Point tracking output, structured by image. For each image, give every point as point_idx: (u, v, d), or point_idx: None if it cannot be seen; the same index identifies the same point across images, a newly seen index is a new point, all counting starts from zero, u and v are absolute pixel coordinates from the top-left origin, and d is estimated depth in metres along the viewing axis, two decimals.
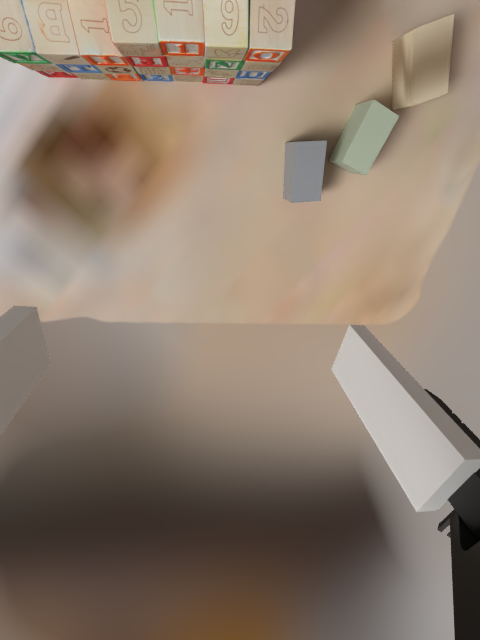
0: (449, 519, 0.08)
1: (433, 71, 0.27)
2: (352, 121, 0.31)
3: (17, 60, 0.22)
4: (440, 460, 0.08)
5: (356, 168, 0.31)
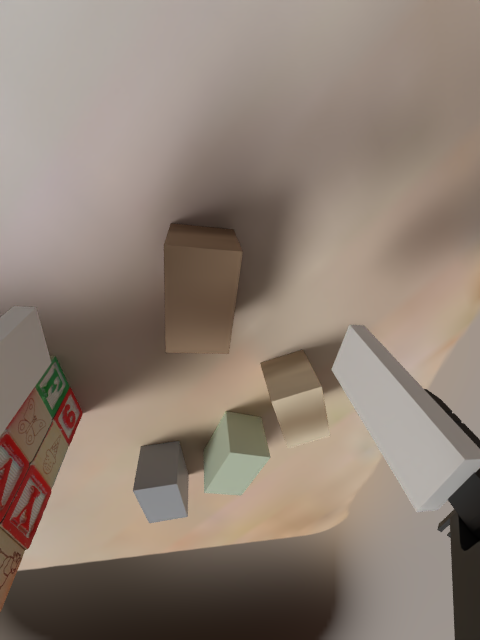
0: (449, 519, 0.08)
1: (305, 425, 0.20)
2: (219, 437, 0.24)
3: None
4: (440, 460, 0.08)
5: (226, 493, 0.24)
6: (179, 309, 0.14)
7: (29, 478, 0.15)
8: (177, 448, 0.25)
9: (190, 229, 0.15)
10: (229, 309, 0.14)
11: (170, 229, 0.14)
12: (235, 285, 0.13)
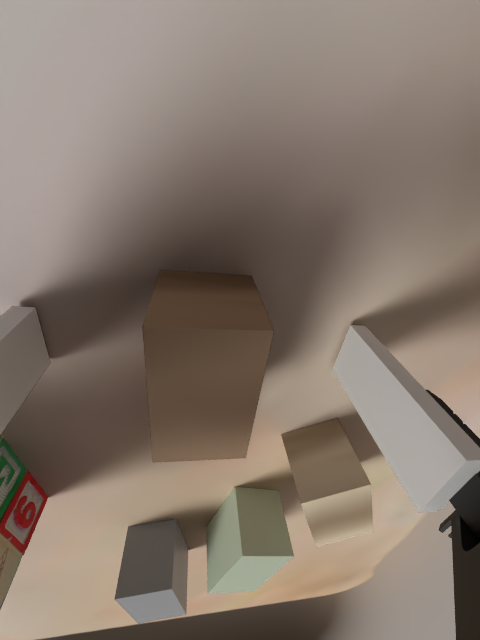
0: (450, 520, 0.08)
1: (342, 523, 0.15)
2: (227, 520, 0.19)
3: None
4: (442, 461, 0.08)
5: (235, 591, 0.19)
6: (171, 411, 0.09)
7: None
8: (173, 530, 0.20)
9: (189, 281, 0.10)
10: (248, 406, 0.09)
11: (158, 284, 0.09)
12: (259, 376, 0.09)
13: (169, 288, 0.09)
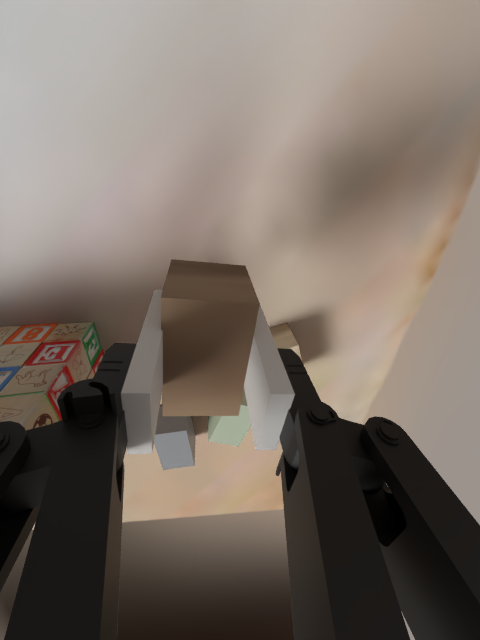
0: (280, 464, 0.09)
1: None
2: None
3: None
4: (264, 399, 0.09)
5: (226, 443, 0.30)
6: (179, 369, 0.11)
7: None
8: None
9: (194, 269, 0.12)
10: (241, 368, 0.12)
11: (170, 270, 0.12)
12: (249, 342, 0.11)
13: (179, 273, 0.12)
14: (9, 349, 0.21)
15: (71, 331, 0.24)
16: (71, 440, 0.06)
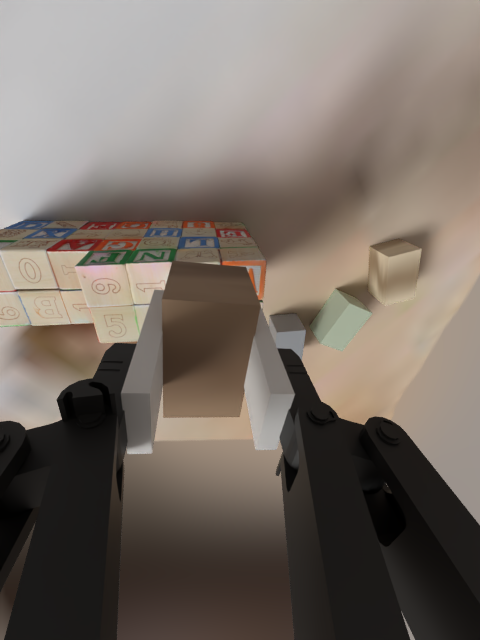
0: (280, 463, 0.09)
1: (402, 284, 0.31)
2: (331, 305, 0.34)
3: None
4: (264, 399, 0.09)
5: (333, 347, 0.34)
6: (180, 371, 0.11)
7: None
8: (296, 316, 0.35)
9: (195, 270, 0.12)
10: (242, 369, 0.12)
11: (171, 271, 0.12)
12: (250, 343, 0.11)
13: (180, 274, 0.12)
14: (193, 229, 0.25)
15: (231, 225, 0.27)
16: (71, 440, 0.06)
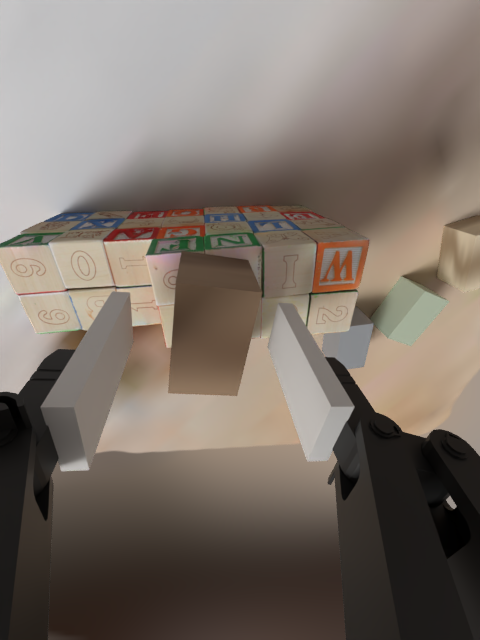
0: (334, 472, 0.09)
1: None
2: (397, 295, 0.30)
3: None
4: (319, 411, 0.09)
5: (401, 341, 0.31)
6: (186, 350, 0.12)
7: None
8: (357, 309, 0.31)
9: (203, 260, 0.13)
10: (242, 350, 0.13)
11: (181, 260, 0.13)
12: (250, 327, 0.12)
13: (189, 263, 0.13)
14: (255, 213, 0.22)
15: (292, 208, 0.24)
16: None
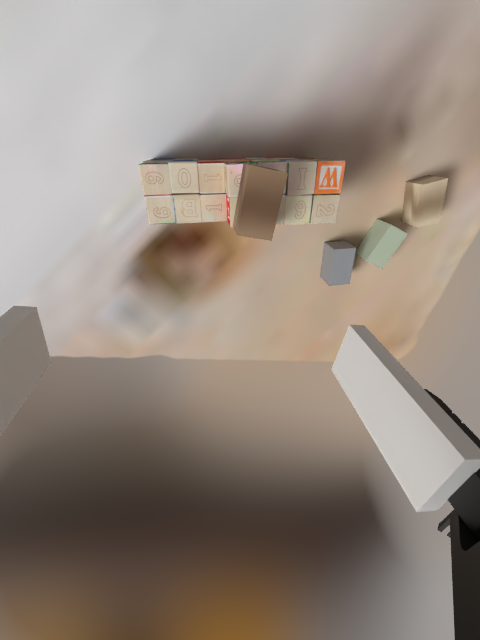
0: (449, 519, 0.08)
1: (432, 208, 0.40)
2: (374, 231, 0.44)
3: None
4: (440, 460, 0.08)
5: (375, 264, 0.44)
6: (249, 206, 0.25)
7: None
8: (345, 242, 0.45)
9: (256, 165, 0.26)
10: (276, 209, 0.26)
11: (246, 163, 0.26)
12: (281, 193, 0.25)
13: (250, 164, 0.26)
14: (279, 158, 0.34)
15: None
16: None
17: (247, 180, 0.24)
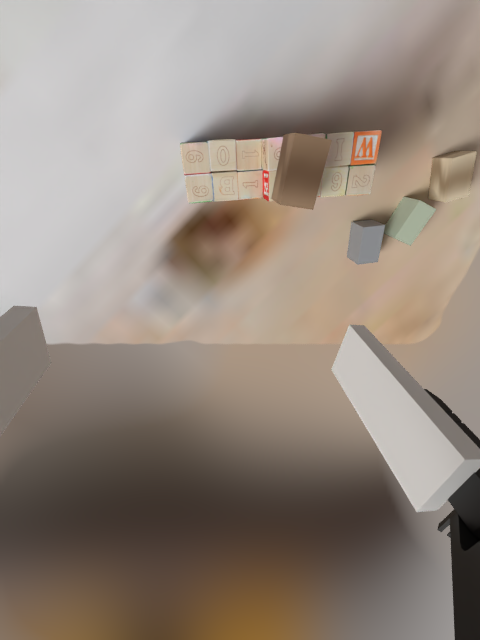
0: (449, 519, 0.08)
1: (460, 182, 0.41)
2: (401, 209, 0.44)
3: None
4: (440, 460, 0.08)
5: (404, 241, 0.44)
6: (293, 174, 0.26)
7: None
8: (373, 221, 0.45)
9: None
10: (319, 177, 0.26)
11: (288, 134, 0.27)
12: (324, 161, 0.26)
13: None
14: None
15: None
16: None
17: (292, 148, 0.25)
